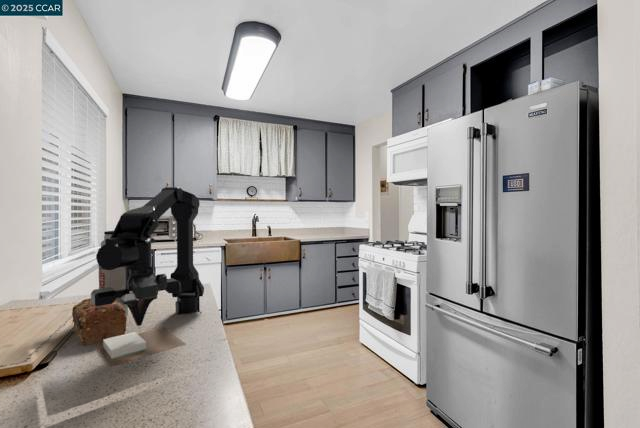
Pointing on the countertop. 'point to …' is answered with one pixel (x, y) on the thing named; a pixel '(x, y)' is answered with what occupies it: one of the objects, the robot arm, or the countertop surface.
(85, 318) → the bread
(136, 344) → the tile
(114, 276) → the thermos bottle
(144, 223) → the robot arm
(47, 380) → the countertop surface
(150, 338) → the board
